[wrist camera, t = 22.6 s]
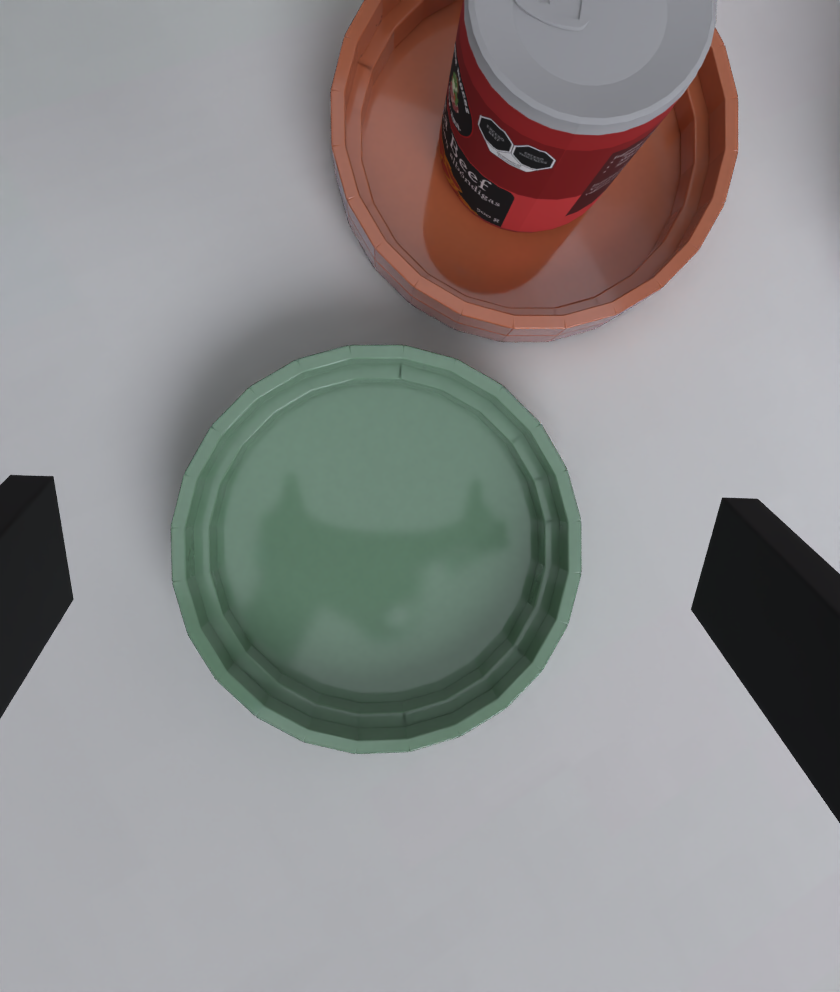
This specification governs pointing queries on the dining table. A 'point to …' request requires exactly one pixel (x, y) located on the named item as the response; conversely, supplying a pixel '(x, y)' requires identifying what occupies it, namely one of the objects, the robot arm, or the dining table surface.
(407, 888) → the dining table surface
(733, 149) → the terracotta bowl
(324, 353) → the sage bowl
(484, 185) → the canned food
